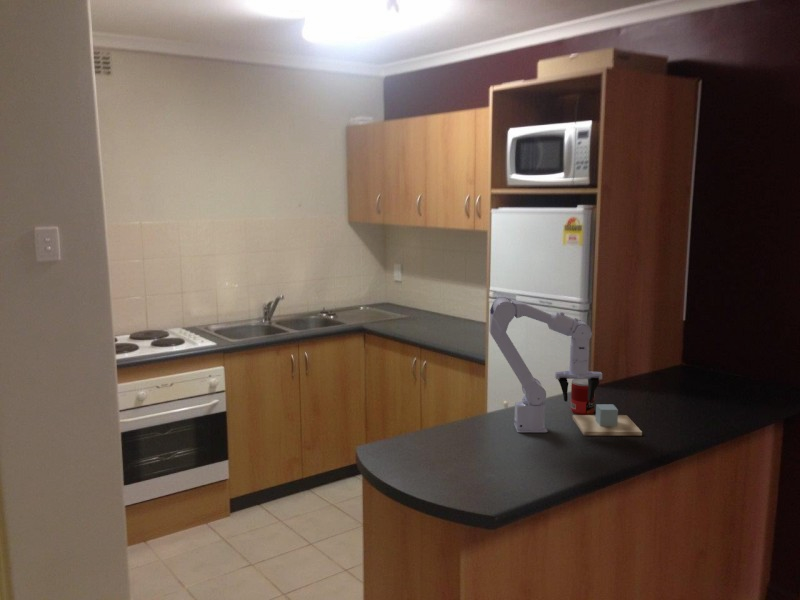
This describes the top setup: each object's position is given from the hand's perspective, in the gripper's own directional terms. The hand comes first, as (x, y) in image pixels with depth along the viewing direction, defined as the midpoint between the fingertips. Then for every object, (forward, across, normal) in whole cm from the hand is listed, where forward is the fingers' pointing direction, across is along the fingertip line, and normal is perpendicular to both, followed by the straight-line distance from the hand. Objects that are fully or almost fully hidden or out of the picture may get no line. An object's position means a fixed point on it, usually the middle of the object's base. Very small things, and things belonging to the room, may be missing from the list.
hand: (577, 400), depth 226 cm
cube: (+8, +10, +2) cm, 13 cm away
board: (+9, +10, +2) cm, 14 cm away
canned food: (+10, +6, +17) cm, 20 cm away
